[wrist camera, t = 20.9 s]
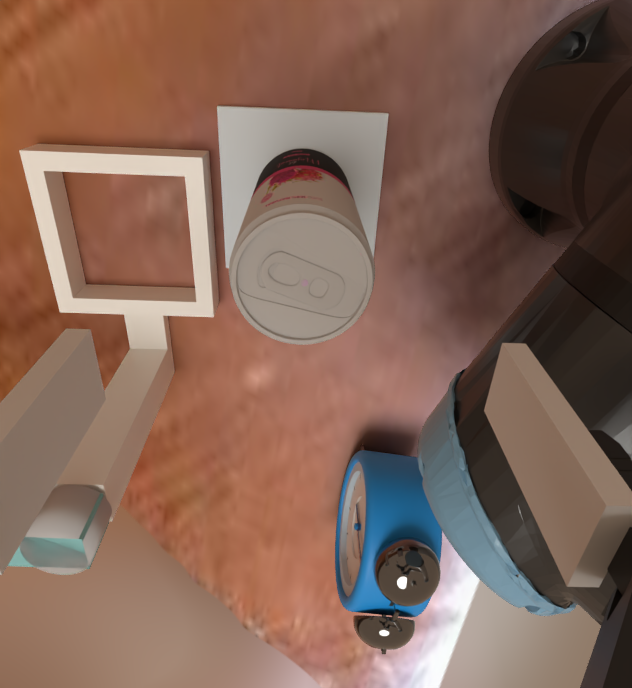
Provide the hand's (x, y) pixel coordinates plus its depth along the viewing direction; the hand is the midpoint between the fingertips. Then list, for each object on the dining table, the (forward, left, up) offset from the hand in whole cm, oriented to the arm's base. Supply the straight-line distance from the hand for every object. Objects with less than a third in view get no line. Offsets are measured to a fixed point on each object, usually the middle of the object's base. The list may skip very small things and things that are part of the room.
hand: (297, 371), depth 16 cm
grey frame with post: (+12, +6, -22) cm, 26 cm away
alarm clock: (-8, +27, -22) cm, 36 cm away
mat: (0, 0, -22) cm, 22 cm away
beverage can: (0, 0, -22) cm, 22 cm away
